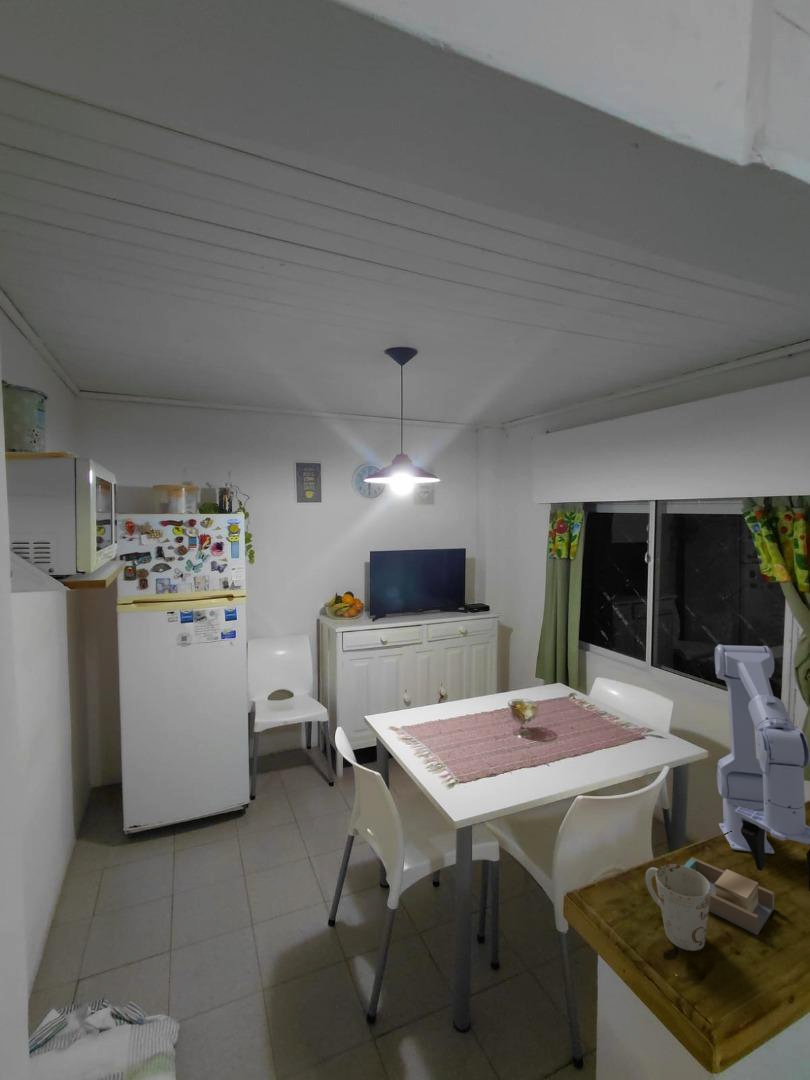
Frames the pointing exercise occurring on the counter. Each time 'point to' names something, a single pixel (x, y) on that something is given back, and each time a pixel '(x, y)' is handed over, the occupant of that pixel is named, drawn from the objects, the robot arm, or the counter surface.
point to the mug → (682, 904)
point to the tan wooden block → (737, 890)
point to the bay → (728, 909)
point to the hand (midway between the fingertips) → (786, 878)
